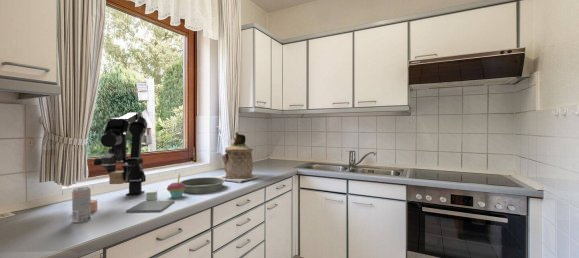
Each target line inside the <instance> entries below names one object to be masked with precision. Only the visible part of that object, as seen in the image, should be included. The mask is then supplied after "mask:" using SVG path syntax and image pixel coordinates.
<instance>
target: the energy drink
mask: <svg viewBox="0 0 579 258" xmlns="http://www.w3.org/2000/svg"><path fill="white" fill-rule="evenodd" d="M91 193H92V191H91V188H90V187H88V186H87V187H76V188H73V189H72V193H71V197H72V199H71V207H72V208H71V209H72V211H71V214H72V217H71V218H72V221H71V222H72V223H74V224H81V223H87V222H88V221H90V220H91V218H92V217H91V215H92V213H91V200H92V198H91Z"/></svg>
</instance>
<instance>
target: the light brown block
mask: <svg viewBox="0 0 579 258" xmlns="http://www.w3.org/2000/svg"><path fill="white" fill-rule="evenodd" d="M97 211H98V200H97V199H91V214H93V213H96V212H97Z"/></svg>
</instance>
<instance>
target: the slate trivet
mask: <svg viewBox="0 0 579 258" xmlns="http://www.w3.org/2000/svg"><path fill="white" fill-rule="evenodd" d="M174 203H175V200H151V201H146V200H143V201H140V202H139V203H137V204H135V205H133V206H131V207H130V208H128V209H126V210H125V213H162V212H163V211H164V210H165V209H167V208H169V207H170V206H172V205H173V204H174Z"/></svg>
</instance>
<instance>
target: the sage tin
mask: <svg viewBox="0 0 579 258" xmlns="http://www.w3.org/2000/svg"><path fill="white" fill-rule="evenodd" d="M157 199H158V189H155V190H147V191H146V194H145V201H157Z"/></svg>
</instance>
